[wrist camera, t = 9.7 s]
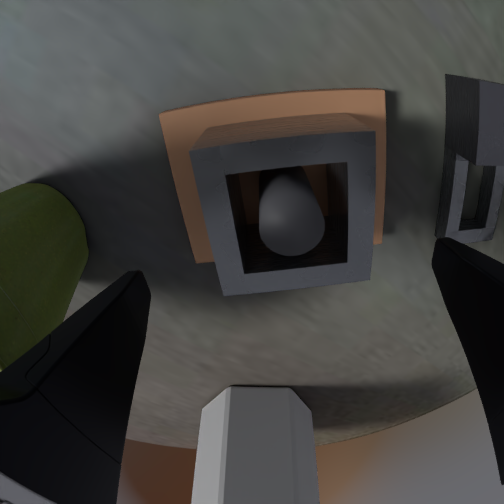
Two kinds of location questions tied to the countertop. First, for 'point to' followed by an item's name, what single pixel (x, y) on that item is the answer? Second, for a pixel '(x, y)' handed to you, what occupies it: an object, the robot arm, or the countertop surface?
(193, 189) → the tan board with knob
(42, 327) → the plant pot
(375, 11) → the countertop surface
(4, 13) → the countertop surface
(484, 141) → the dark clasp block
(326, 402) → the countertop surface
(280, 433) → the soap bottle
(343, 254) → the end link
